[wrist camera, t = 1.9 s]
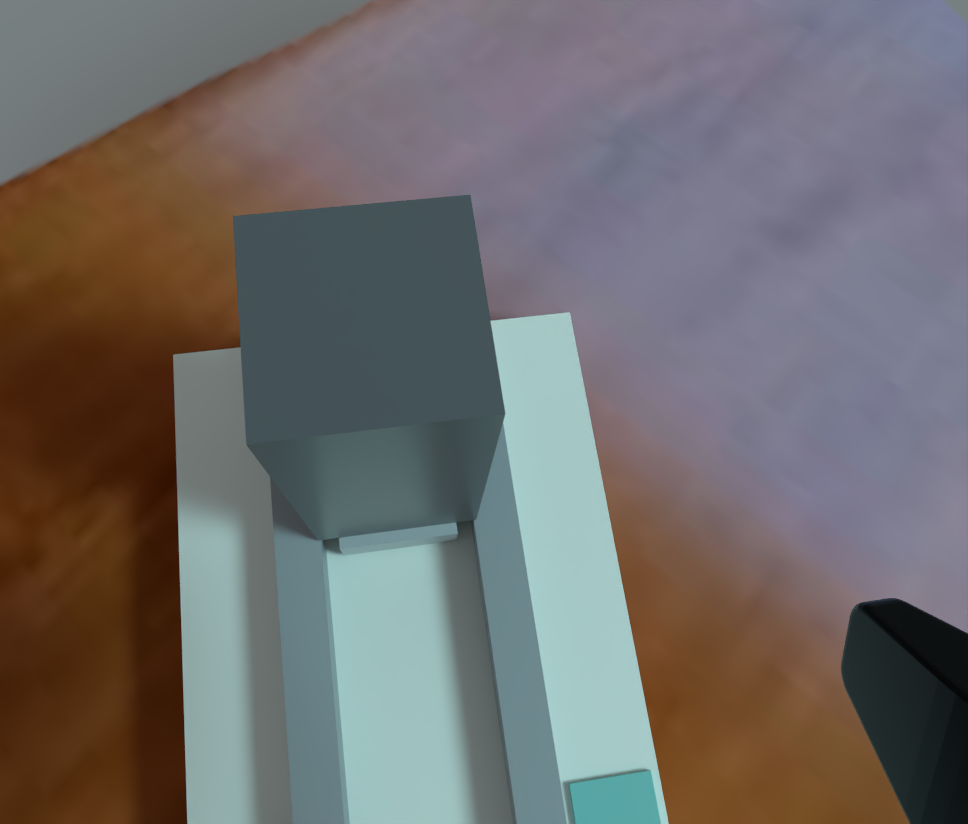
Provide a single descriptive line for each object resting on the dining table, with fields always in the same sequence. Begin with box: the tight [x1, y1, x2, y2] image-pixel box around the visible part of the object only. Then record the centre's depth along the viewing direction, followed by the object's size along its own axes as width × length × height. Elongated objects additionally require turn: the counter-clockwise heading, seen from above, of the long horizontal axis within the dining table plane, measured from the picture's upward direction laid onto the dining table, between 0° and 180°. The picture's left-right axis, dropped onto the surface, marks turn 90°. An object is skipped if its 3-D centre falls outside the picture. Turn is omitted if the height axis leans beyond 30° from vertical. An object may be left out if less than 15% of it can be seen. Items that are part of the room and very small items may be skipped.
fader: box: [233, 195, 505, 555], centre depth 16 cm, size 4×4×8 cm
